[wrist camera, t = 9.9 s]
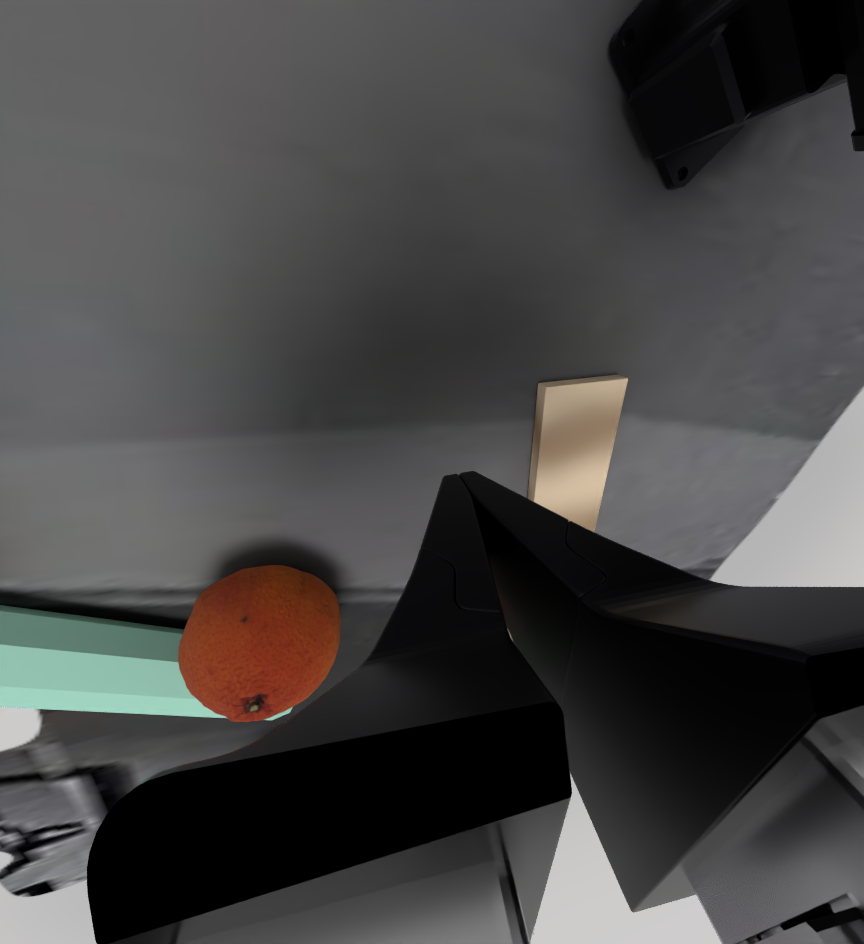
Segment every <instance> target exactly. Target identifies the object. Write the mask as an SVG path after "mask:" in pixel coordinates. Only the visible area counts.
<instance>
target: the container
mask: <svg viewBox="0 0 864 944" xmlns="http://www.w3.org/2000/svg"><path fill="white" fill-rule="evenodd" d="M183 632H184V629H177V628H169V627H162V626H154V625H147V624H140V623H132V622H125V621H117V620H110V619H103V618H95V617H88V616H80V615H72V614H65V613H57V612H49V611H42V610H34V609H27V608H19V607H11V606H4V605H0V707H14V708H33V709H53V710H74V711H94V712H114V713H135V714H155V715H175V716H195V717H216V718H227V717H226V716H222V715H219V714H216V713H214V712H213V711H211V710H210V709H208V708H206V707H204V706H203V705H202V703H201V702H200V701H198V700H197V699H196V698H195V697H194V696H193V695H191V693H190V692H189V690H188V689H187V687H186V684H185V681H184V679H183V677H182V675H181V672H180V669H179V663H178V651H179V644H180V640H181V638H182V635H183ZM291 709H292V708H290V709H288V710H286V711H284V712H282V713H279V714H277V715H274V716H273V717H271V718H268V719H264V720H274V719H276V718H278V717H281V716H283V715H285V714H288V713H290V711H291Z"/></svg>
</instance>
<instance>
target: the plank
mask: <svg viewBox="0 0 864 944" xmlns="http://www.w3.org/2000/svg"><path fill="white" fill-rule="evenodd" d="M627 382H628V378H626V377H623V376H620V375H608V376H598V377H589V378H580V379H571V380H562V381H553V382H543V383H538V391H537V402H536V413H535V424H534V434H533V445H532V456H531V467H530V477H529V488H528V499H529V500H531V501H533V502H535V503H537V504H539V505H541V506H543V507H545V508H547V509H549V510H551V511H553V512H555V513H557V514H559V515H561V516H563V517H564V518H566V519H568V520H569V521H572V522H574V523H576V524H578V525H580V526H582V527H584V528H586V529H588V530H590V531H592V532H594V531H595V526H596V522H597V517H598V513H599V508H600V504H601V499H602V495H603V490H604V486H605V481H606V477H607V472H608V468H609V463H610V459H611V454H612V449H613V445H614V440H615V436H616V431H617V427H618V422H619V418H620V413H621V409H622V404H623V400H624V395H625V391H626V386H627Z"/></svg>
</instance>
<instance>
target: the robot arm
mask: <svg viewBox="0 0 864 944" xmlns="http://www.w3.org/2000/svg"><path fill="white" fill-rule="evenodd" d="M623 36H626V38H627V39H628V47H627V48H625V47H624V46H623V42H622V40H623ZM610 53H611V57H612V60H613V62H614V64H615V67H616V69H617V71H618V74H619V76H620V78H621V81H622V83H623V85H624V88H625V90H626V92H627V95H628V97H629V99H630V105H631V107H632V110H633V112H634V114H635V117H636V119H637V121H638V124H639V126H640V128H641V131H642V133H643V135H644V138H645V140H646V142H647V145H648V147H649V149H650V152H651V154H652V156H653V158H655V160H656V162H657V165H658V167H659V169H660V172H661V174H662V176H663V179H664V181H665V183H666V186H667V187H668V188H669V189H671V190H673V189H677V188H681V187H683V186H685V185H686V184H687V183H688V182H689V181H690V180H691V179H692V178H693V177H694V176H695V175H696V174H697V173H698V172H699V171H700V170H701V169H702V168H703V167H704V166H705V165H706V164H707V163H708V162H709V161H710V160H711V159H712V158H713V157H714V156H715V155H716V154H717V153H718V152H719V151H720V150H721V149H722V148H723V146H724V145H725V144H726V143H727V142H728V141H729V140H730V139H731V138H732V137H733V136H734V135H735V134H736V133H737V132H738V131H739V130H740V129H741V128H742V127H743V126H744V125H745V124H747V123H750V122H752V121H754V120H757V119H759V118H761V117H764V116H766V115H769V114H771V113H773V112H776V111H778V110H780V109H783V108H785V107H787V106H790V105H792V104H794V103H797V102H799V101H802V100H804V99H806V98H809V97H811V96H813V95H816V94H818V93H820V92H823V91H825V90H827V89H830V88H832V87H835V86H837V85H839V84H842V83H844V82H846V81H847V84H848V90H849V96H850V102H851V108H852V113H853V119H854V125H855V130H854V131H853V132H852V134H851V137H852V143H853V149H854V151H864V0H641V1H640V3H639V4H638V5H637V6H636V7H635V9H634V10H633V11H632V12H631V13H630V15H629V16H628V17H627V18H626V19H625V21H624V22H623V23H622V24H621V26H620V27H619V28H618V29H617V30H616V32H615V34H614V35H613V37H612V40H611V44H610ZM679 170H680V171H681V176H680V179H679V180H678V177H677V174H678V171H679ZM509 633H510V634H509ZM510 635H511V637H512V639H511V637H510ZM570 773H571V775H572V777H573V780H574V782H575V784H576V786H577V789H578V791H579V793H580V795H581V798H582V800H583V803H584V805H585V807H586V809H587V812H588V814H589V816H590V819H591V821H592V823H593V825H594V828H595V830H596V832H597V834H598V837H599V839H600V841H601V844H602V846H603V848H604V851H605V853H606V855H607V857H608V860H609V862H610V864H611V866H612V869H613V871H614V874H615V876H616V878H617V880H618V883H619V885H620V887H621V890H622V892H623V894H624V896H625V898H626V901H627V903H628V905H629V907H630V909H631V911H632V912H637V911H641V910H644V909H647V908H651V907H655V906H658V905H661V904H665V903H668V902H672V901H675V900H678V899H682V898H685V897H689V896H692V895H695V894H696V895H697V897H698V899H699V901H700V903H701V905H702V906H703V908H704V910H705V912H706V914H707V916H708V918H709V920H710V922H711V924H712V925H713V927H714V929H715V931H716V933H717V935H718V937H719V939H720V941H721V942H722V944H864V587H742V586H734V585H727V584H722V583H717V582H713V581H710V580H706V579H703V578H700V577H698V576H695V575H692V574H690V573H688V572H685V571H683V570H680V569H678V568H676V567H673V566H671V565H668V564H666V563H664V562H661V561H659V560H656V559H654V558H652V557H649V556H647V555H644V554H642V553H640V552H637V551H635V550H632V549H630V548H628V547H625V546H623V545H621V544H619V543H616V542H614V541H612V540H609V539H607V538H605V537H603V536H601V535H599V534H597V533H595V532H592V531H590V530H588V529H586V528H584V527H582V526H580V525H578V524H576V523H574V522H572V521H569V520H568V519H566V518H564V517H563V516H561V515H559V514H557V513H555V512H553V511H551V510H549V509H547V508H545V507H543V506H541V505H539V504H537V503H535V502H533V501H531V500H529V499H527V498H525V497H523V496H522V495H520V494H518V493H516V492H514V491H512V490H510V489H508V488H506V487H504V486H502V485H500V484H498V483H496V482H494V481H492V480H490V479H488V478H486V477H484V476H483V475H481V474H479V473H477V472H474V471H470V472H464V473H460V474H459V475H458V474H452V475H446V476H444V477H443V479H442V482H441V485H440V488H439V491H438V494H437V498H436V501H435V504H434V507H433V510H432V513H431V516H430V520H429V523H428V526H427V529H426V532H425V535H424V538H423V542H422V545H421V549H420V551H419V554H418V557H417V560H416V563H415V565H414V568H413V571H412V573H411V576H410V578H409V580H408V582H407V585H406V587H405V589H404V591H403V593H402V595H401V597H400V599H399V601H398V603H397V605H396V607H395V609H394V611H393V613H392V614H391V616H390V618H389V620H388V622H387V624H386V626H385V628H384V630H383V632H382V634H381V636H380V638H379V640H378V642H377V643H376V645H375V647H374V649H373V650H372V652H371V653H370V655H369V656H368V658H367V659H366V660H365V662H364V663H363V664H362V665H361V666H360V667H359V668H358V669H357V670H356V671H354V672H353V673H352V674H350V675H349V676H348V677H346V678H345V679H344V680H342V681H341V682H340V683H338V684H337V685H336V686H334V687H333V688H331V689H330V690H329V691H327V692H326V693H325V694H323V695H322V696H321V697H319V698H318V699H317V700H315V701H314V702H313V703H311V704H310V705H309V706H307V707H306V708H305V709H303V710H302V711H301V712H299V713H298V714H297V715H295V716H294V717H293V718H291V719H290V720H288V721H287V722H286V723H284V724H283V725H282V726H280V727H279V728H277V729H276V730H274V731H273V732H271V733H270V734H268V735H267V736H265V737H263V738H261V739H259V740H257V741H255V742H254V743H252V744H250V745H248V746H245V747H243V748H241V749H238V750H236V751H233V752H231V753H228V754H225V755H221V756H218V757H215V758H211V759H207V760H202V761H198V762H193V763H189V764H184V765H180V766H177V767H174V768H171V769H167V770H164V771H162V772H160V773H157V774H155V775H153V776H151V777H149V778H147V779H146V780H144V781H143V782H141V783H140V784H139V785H138V786H136V787H135V788H134V789H133V790H131V791H130V792H129V793H128V794H126V795H125V796H124V797H123V798H122V799H120V800H119V801H118V802H117V803H116V804H115V805H114V807H113V808H112V809H111V810H110V811H109V813H108V814H107V815H106V817H105V819H104V820H103V822H102V824H101V825H100V827H99V829H98V831H97V833H96V835H95V838H94V841H93V844H92V847H91V850H90V853H89V859H88V865H87V888H88V898H89V904H90V910H91V916H92V922H93V928H94V934H95V940H96V943H97V944H530V940H531V937H532V933H533V930H534V926H535V923H536V919H537V916H538V912H539V908H540V905H541V901H542V897H543V894H544V891H545V887H546V884H547V880H548V876H549V873H550V869H551V866H552V862H553V859H554V855H555V852H556V848H557V844H558V841H559V837H560V834H561V830H562V827H563V823H564V819H565V815H566V812H567V809H568V805H569V801H570V798H571V794H572V788H571V780H570Z"/></svg>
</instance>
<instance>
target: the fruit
mask: <svg viewBox="0 0 864 944" xmlns="http://www.w3.org/2000/svg"><path fill="white" fill-rule="evenodd" d="M340 629H341V618H340V609H339V603H338V600H337V597H336V595H335V593H334V592H333V591H332V589H331V588H330V587H329V586H328V585H327V584H326V583H324V582H323V581H322V580H320V579H319V578H318V577H316V576H314V575H312V574H310V573H307V572H302V571H300V570H297V569H295V568H291V567H288V566H283V565H266V566H260V567H251V568H246V569H241V570H239V571H237V572H235V573H233V574H231V575H229V576H227V577H225V578H223V579H221V580H219V581H217V582H215V583H214V584H212V585H211V586H209V587H208V588H207V589H205V590H204V591H203V592H202V593H201V594H200V596H199V597H198V598H197V600H196V601H195V603H194V609H193V611H192V613H191V615H190V617H189V619H188V622H187V624H186V627H185V629H184V632H183V635H182V638H181V640H180V644H179V651H178V663H179V669H180V672H181V675H182V677H183V679H184V681H185V684H186V687H187V689H188V690H189V692H190V693H191V695H193V696H194V697H195V698H196V699H197V700H198V701H200V702H201V703H202V705H203V706H204V707H206V708H208V709H210V710H211V711H213V712H214V713H216V714H219V715H222V716H226V717H227V718H228V719H229V720H230V721H234V722H249V721H259V720H264V719H268V718H271V717H273V716H274V715H277V714H279V713H282V712H284V711H286V710H288V709H290V708H292V707H293V706H295V705H296V704H298V703H300V702H302V701H304V700H305V699H306V698H308V697H309V696H310V695H311V694H312V693H313V691H314V690H316V689H317V688H318V687H319V685H320V684H321V683H322V681H323V680H324V679H325V678H326V676H327V674H328V672H329V671H330V669H331V667H332V665H333V663H334V660H335V657H336V654H337V651H338V647H339V641H340Z"/></svg>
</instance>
